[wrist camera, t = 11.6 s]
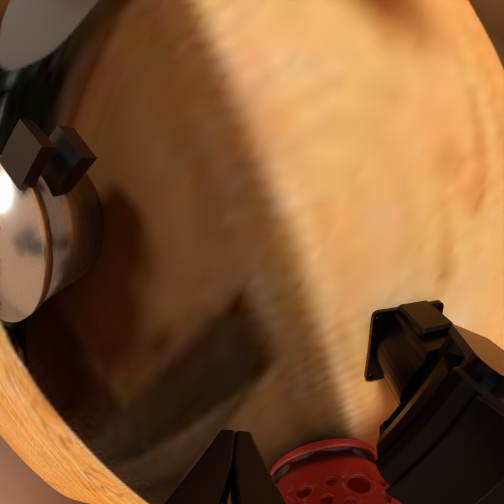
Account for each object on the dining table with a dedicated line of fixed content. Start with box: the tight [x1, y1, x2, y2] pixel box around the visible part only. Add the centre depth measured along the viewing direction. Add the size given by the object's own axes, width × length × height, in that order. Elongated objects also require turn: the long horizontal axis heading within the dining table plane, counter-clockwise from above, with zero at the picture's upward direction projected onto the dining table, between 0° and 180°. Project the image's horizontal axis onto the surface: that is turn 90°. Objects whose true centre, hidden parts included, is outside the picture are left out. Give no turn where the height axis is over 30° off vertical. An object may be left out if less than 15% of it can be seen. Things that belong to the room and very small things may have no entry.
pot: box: [37, 125, 103, 301], centre depth 17 cm, size 23×10×6 cm, turn 131°
